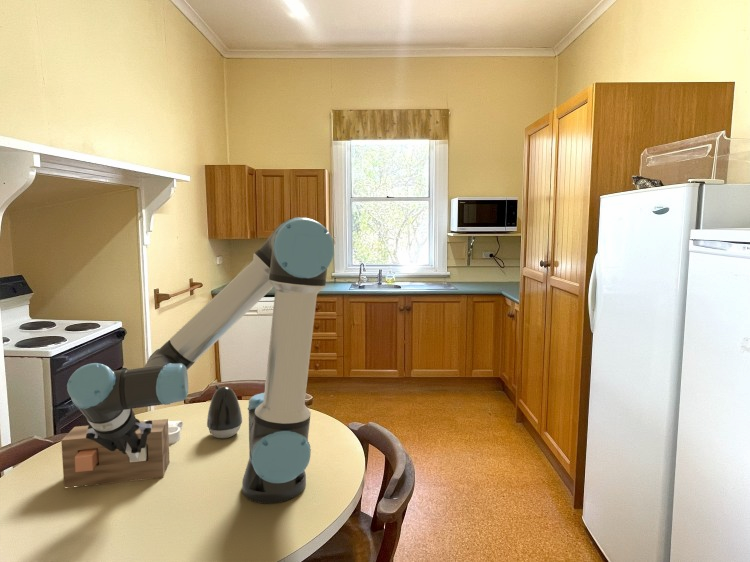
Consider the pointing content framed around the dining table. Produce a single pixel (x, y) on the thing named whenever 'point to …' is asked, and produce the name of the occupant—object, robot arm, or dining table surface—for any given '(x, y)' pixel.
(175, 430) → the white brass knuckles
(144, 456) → the ivory key
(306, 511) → the dining table surface
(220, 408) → the black egg shaped device
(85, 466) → the terracotta key
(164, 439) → the key console
